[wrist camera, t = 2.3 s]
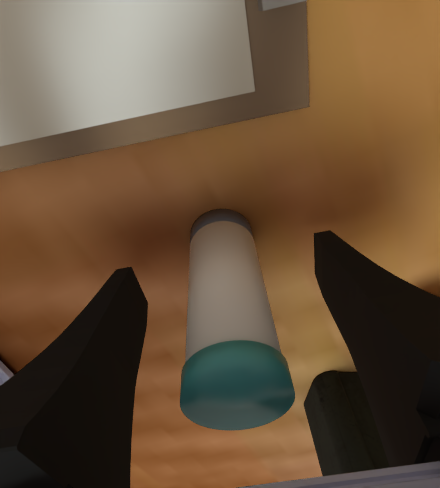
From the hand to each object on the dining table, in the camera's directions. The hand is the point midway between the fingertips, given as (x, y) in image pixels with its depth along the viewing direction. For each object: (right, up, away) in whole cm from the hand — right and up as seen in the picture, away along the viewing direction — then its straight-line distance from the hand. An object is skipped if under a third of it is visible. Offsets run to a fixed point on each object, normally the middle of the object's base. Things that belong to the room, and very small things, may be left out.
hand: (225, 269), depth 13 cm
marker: (0, +1, +2) cm, 2 cm away
